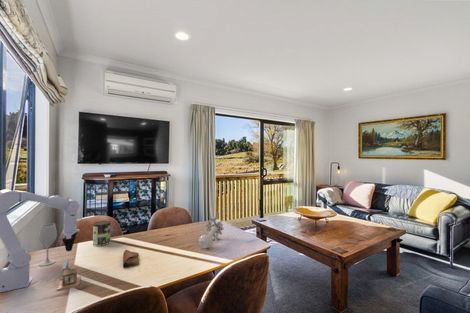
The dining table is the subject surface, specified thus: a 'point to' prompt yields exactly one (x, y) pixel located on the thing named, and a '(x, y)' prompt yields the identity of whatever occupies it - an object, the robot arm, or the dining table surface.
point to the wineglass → (47, 239)
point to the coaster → (68, 285)
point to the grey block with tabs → (65, 267)
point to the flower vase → (211, 234)
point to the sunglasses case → (130, 259)
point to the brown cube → (69, 277)
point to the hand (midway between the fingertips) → (69, 248)
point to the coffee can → (101, 233)
